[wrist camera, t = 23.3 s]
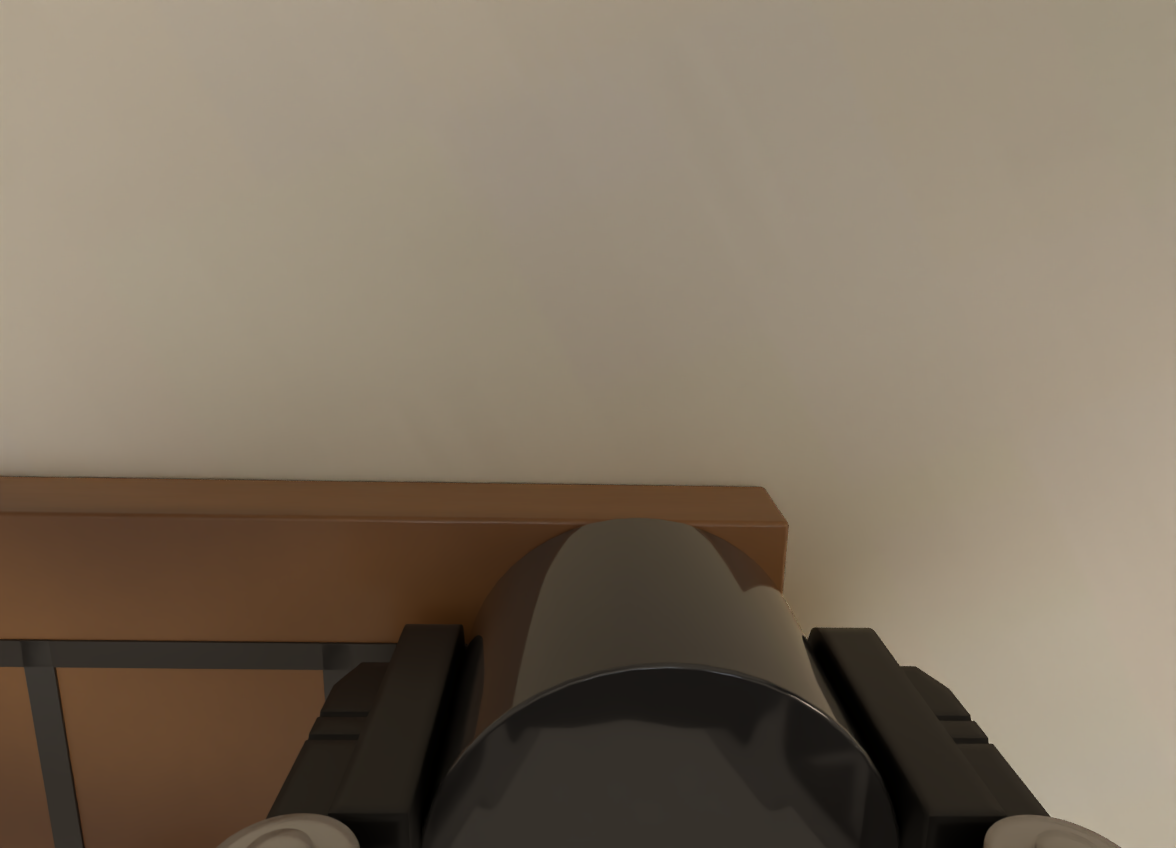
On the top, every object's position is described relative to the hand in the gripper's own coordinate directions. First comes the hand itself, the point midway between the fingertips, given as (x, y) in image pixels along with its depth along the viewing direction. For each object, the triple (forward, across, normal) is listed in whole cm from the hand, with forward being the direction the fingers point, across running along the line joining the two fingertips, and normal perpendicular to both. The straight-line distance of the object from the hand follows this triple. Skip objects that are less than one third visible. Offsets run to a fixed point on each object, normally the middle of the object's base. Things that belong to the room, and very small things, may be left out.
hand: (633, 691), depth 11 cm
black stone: (0, 0, 0) cm, 0 cm away
